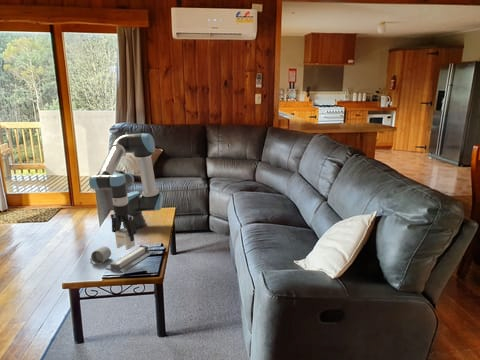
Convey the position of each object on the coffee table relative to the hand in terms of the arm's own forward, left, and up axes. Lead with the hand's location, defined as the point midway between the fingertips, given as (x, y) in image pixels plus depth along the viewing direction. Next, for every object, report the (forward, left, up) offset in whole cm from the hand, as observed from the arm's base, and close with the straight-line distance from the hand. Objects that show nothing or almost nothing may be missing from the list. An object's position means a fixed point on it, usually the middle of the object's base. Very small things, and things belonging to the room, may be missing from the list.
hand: (125, 245), depth 184 cm
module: (0, 0, -1) cm, 1 cm away
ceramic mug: (+4, -16, -10) cm, 19 cm away
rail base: (-2, 0, -10) cm, 10 cm away
